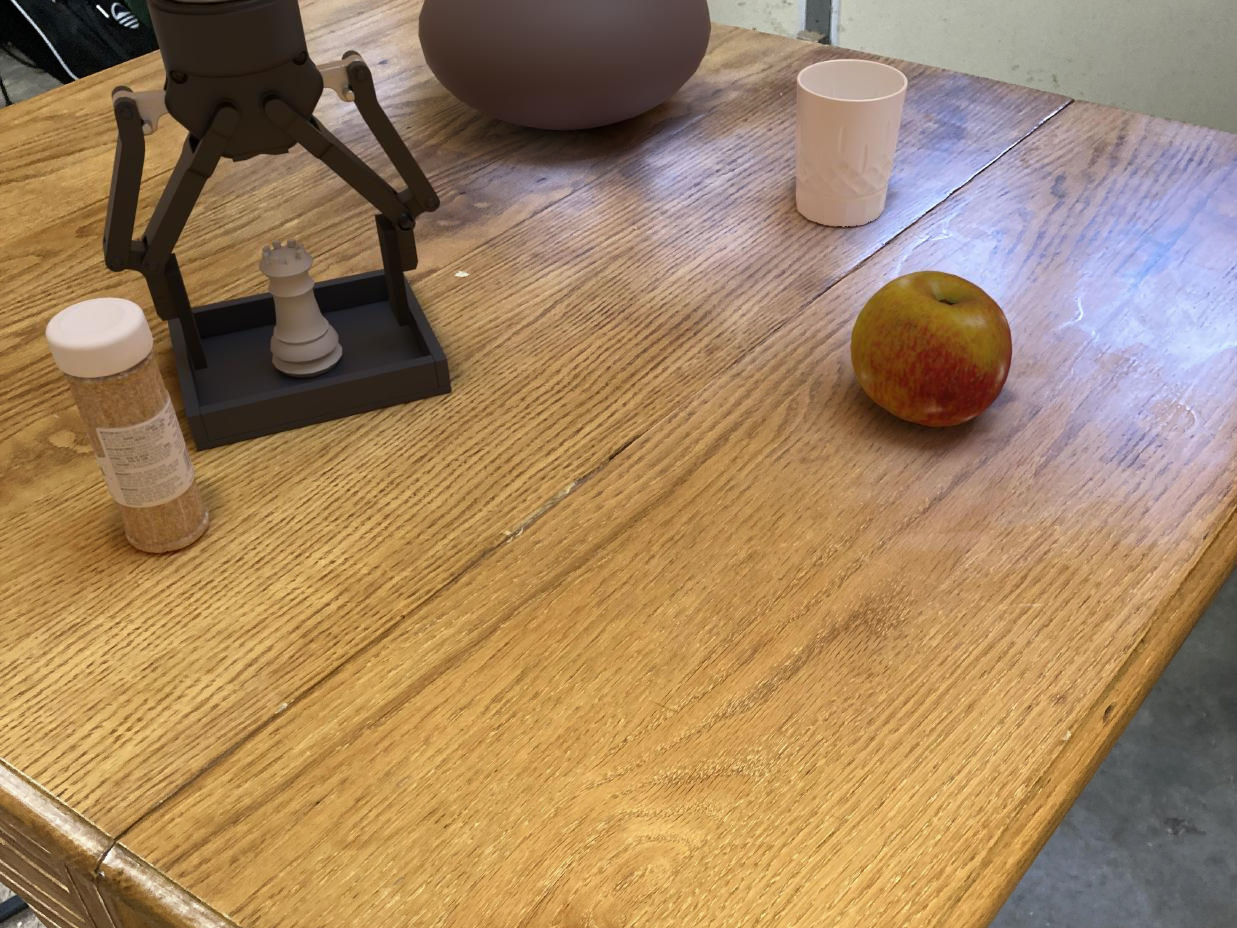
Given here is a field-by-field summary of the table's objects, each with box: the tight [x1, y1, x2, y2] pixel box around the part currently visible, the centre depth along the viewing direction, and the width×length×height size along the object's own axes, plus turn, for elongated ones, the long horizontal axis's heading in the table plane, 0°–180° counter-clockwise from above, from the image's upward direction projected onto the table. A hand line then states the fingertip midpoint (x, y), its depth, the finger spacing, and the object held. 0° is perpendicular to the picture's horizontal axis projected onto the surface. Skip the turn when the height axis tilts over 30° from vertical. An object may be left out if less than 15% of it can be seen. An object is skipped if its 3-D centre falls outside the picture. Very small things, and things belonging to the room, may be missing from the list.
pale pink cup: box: [794, 58, 909, 228], centre depth 90 cm, size 8×8×10 cm
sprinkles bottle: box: [45, 297, 211, 554], centre depth 62 cm, size 5×5×13 cm
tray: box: [166, 268, 453, 452], centre depth 78 cm, size 16×13×2 cm
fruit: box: [849, 270, 1013, 428], centre depth 71 cm, size 10×9×8 cm
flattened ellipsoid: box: [417, 0, 712, 131], centre depth 104 cm, size 25×25×15 cm
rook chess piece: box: [258, 238, 342, 378], centre depth 75 cm, size 4×4×8 cm
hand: (302, 336), depth 77 cm, fingers open, 12 cm apart
